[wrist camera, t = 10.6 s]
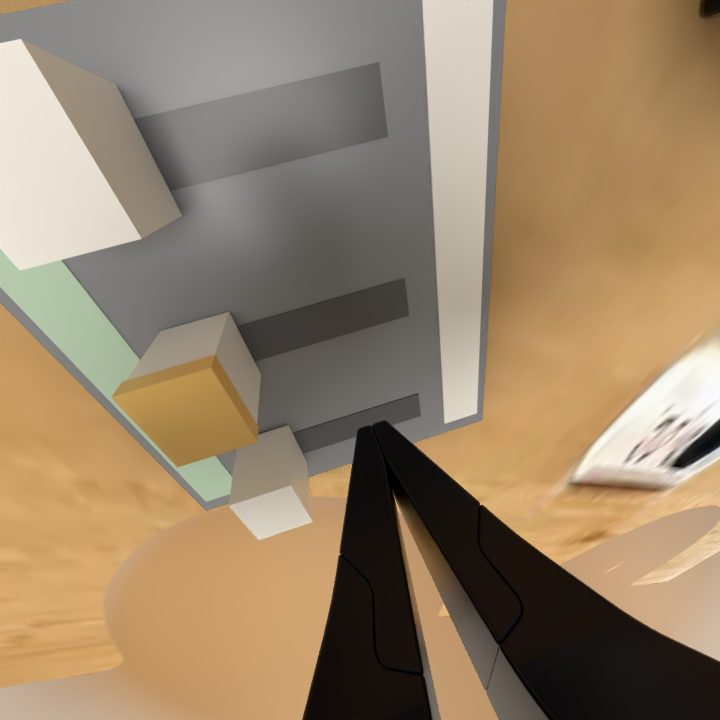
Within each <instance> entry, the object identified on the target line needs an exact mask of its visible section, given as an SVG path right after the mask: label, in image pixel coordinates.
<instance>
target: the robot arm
mask: <svg viewBox="0 0 720 720" xmlns="http://www.w3.org/2000/svg"><path fill="white" fill-rule="evenodd" d="M705 14H706V16H707V17H714V16H718V15H720V0H706V5H705ZM393 494H394V495H393ZM394 497H395V499H396V502H397V504H398V506H399V508H400V511H401V513H402V515H403V517H404V519H405V521H406V523H407V525H408V528H409V530H410V532H411V534H412V536H413V538H414V540H415V542H416V545H417V547H418V549H419V551H420V553H421V555H422V557H423V559H424V561H425V563H426V566H427V568H428V570H429V572H430V574H431V576H432V579H433V581H434V582H435V585H436V587H437V589H438V591H439V593H440V595H441V598H442V600H443V602H444V604H445V606H446V608H447V610H448V613H449V615H450V617H451V619H452V621H453V623H454V625H455V627H456V630H457V632H458V634H459V636H460V638H461V640H462V642H463V644H464V646H465V649H466V651H467V653H468V655H469V657H470V659H471V661H472V663H473V665H474V668H475V670H476V672H477V674H478V676H479V678H480V680H481V682H482V685H483V687H484V689H485V690H486V691H487V695H488V697H489V700H490V702H491V704H492V706H493V708H494V710H495V712H496V714H497V717H498V719H499V720H720V661H718V660H716V659H714V658H712V657H709V656H707V655H705V654H703V653H701V652H699V651H697V650H694V649H692V648H690V647H688V646H686V645H684V644H682V643H680V642H678V641H675V640H673V639H671V638H669V637H667V636H665V635H663V634H661V633H659V632H658V631H656V630H654V629H651V628H650V627H648V626H647V625H645V624H643V623H642V622H640V621H638V620H637V619H635V618H633V617H632V616H630V615H629V614H627V613H626V612H624V611H623V610H621V609H619V608H618V607H617V606H615V605H614V604H612V603H611V602H610V601H608V600H607V599H605V598H604V597H603V596H601V595H600V594H598V593H597V592H596V591H594V590H593V589H591V588H590V587H589V586H587V585H586V584H584V583H583V582H582V581H580V580H579V579H578V578H576V577H575V576H573V575H572V574H571V573H569V572H568V571H566V570H565V569H564V568H562V567H561V566H559V565H558V564H557V563H555V562H554V561H553V560H551V559H550V558H548V557H547V556H546V555H544V554H543V553H541V552H540V551H539V550H538V549H536V548H535V547H534V546H532V545H531V544H530V543H528V542H527V541H526V540H524V539H523V538H522V537H520V536H519V535H518V534H516V533H515V532H514V531H513V530H512V529H510V528H509V527H508V526H507V525H506V524H504V523H503V522H502V521H501V520H500V519H498V518H497V517H496V516H495V515H494V514H493V513H491V512H490V511H489V510H488V509H487V508H486V507H485V506H483V505H480V502H479V501H478V500H476V499H475V498H474V497H473V496H472V495H471V494H470V493H468V492H467V491H466V490H465V489H464V488H463V487H462V486H460V485H459V484H458V483H457V482H456V481H455V480H454V479H452V478H451V477H450V476H449V475H448V474H447V473H446V472H444V471H443V470H442V469H441V468H440V467H439V466H438V465H436V464H435V463H434V462H433V461H432V460H431V459H430V458H429V457H427V456H426V455H425V454H424V453H423V452H422V451H421V450H419V449H418V448H417V447H416V446H415V445H414V444H413V443H411V442H410V441H409V440H408V439H407V438H406V437H405V436H403V435H402V434H401V433H400V432H399V431H398V430H397V429H395V428H394V427H393V426H392V425H391V424H390V423H389V422H387V421H386V420H382V421H379V422H376V423H374V424H373V425H372V426H371V425H367V426H364V427H361V428H359V429H358V430H357V436H356V442H355V449H354V456H353V463H352V470H351V476H350V483H349V490H348V497H347V504H346V511H345V517H344V525H343V531H342V538H341V544H340V554H341V555H339V558H338V564H337V571H336V577H335V582H334V588H333V594H332V600H331V605H330V609H329V614H328V618H327V622H326V627H325V631H324V636H323V640H322V644H321V648H320V651H319V656H318V660H317V663H316V668H315V672H314V676H313V680H312V683H311V687H310V692H309V695H308V699H307V704H306V707H305V711H304V715H303V719H302V720H441V718H440V713H439V711H438V704H437V699H436V694H435V689H434V685H433V680H432V675H431V670H430V665H429V661H428V656H427V651H426V646H425V641H424V636H423V632H422V627H421V622H420V617H419V612H418V608H417V603H416V598H415V593H414V588H413V584H412V579H411V574H410V569H409V564H408V560H407V555H406V551H405V545H404V541H403V536H402V531H401V526H400V521H399V516H398V512H397V507H396V503H395V499H394Z"/></svg>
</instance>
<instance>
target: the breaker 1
mask: <svg viewBox="0 0 720 720" xmlns="http://www.w3.org/2000/svg"><path fill="white" fill-rule="evenodd" d="M181 216H182V214H181V212H180V210H179V208H178V206H177V204H176V202H175V200H174V198H173V196H172V194H171V192H170V190H169V188H168V186H167V184H166V182H165V180H164V178H163V176H162V174H161V172H160V170H159V168H158V166H157V165H156V163H155V161H154V159H153V157H152V155H151V153H150V151H149V149H148V147H147V145H146V143H145V141H144V139H143V137H142V135H141V133H140V131H139V129H138V127H137V125H136V123H135V121H134V119H133V117H132V115H131V113H130V111H129V109H128V107H127V105H126V103H125V101H124V99H123V97H122V95H121V93H120V91H119V89H118V87H117V85H116V84H114V83H112V82H110V81H108V80H105V79H103V78H101V77H99V76H97V75H95V74H93V73H91V72H89V71H87V70H85V69H83V68H80V67H78V66H76V65H74V64H72V63H70V62H68V61H66V60H64V59H62V58H60V57H58V56H56V55H53V54H51V53H49V52H47V51H45V50H43V49H41V48H39V47H37V46H35V45H33V44H31V43H28V42H26V41H24V40H22V39H18V40H13V41H8V42H3V43H0V249H1V250H2V251H3V253H4V254H5V255H6V256H7V257H8V258H9V259H10V260H11V262H12V263H13V264H14V265H15V266H16V267H17V268H18V269H19V271H20V270H24V269H28V268H32V267H36V266H40V265H43V264H47V263H51V262H55V261H59V260H63V259H67V258H70V257H74V256H78V255H82V254H86V253H90V252H93V251H97V250H101V249H105V248H109V247H113V246H116V245H120V244H124V243H128V242H132V241H136V240H139V239H142V238H144V237H146V236H148V235H150V234H151V233H153V232H155V231H157V230H158V229H160V228H162V227H164V226H165V225H167V224H169V223H171V222H173V221H174V220H176V219H178V218H180V217H181Z"/></svg>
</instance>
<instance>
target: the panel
mask: <svg viewBox="0 0 720 720" xmlns="http://www.w3.org/2000/svg"><path fill="white" fill-rule="evenodd" d="M505 9H506V0H71V1H66V2H61V3H56V4H52V5H47V6H42V7H37V8H32V9H27V10H22V11H17V12H12V13H7V14H2V15H0V43H3V42H8V41H13V40H18V39H22V40H24V41H26V42H28V43H31V44H33V45H35V46H37V47H39V48H41V49H43V50H45V51H47V52H49V53H51V54H53V55H56V56H58V57H60V58H62V59H64V60H66V61H68V62H70V63H72V64H74V65H76V66H78V67H80V68H83V69H85V70H87V71H89V72H91V73H93V74H95V75H97V76H99V77H101V78H103V79H105V80H108V81H110V82H112V83H114V84H116V85H117V87H118V89H119V91H120V93H121V95H122V97H123V99H124V101H125V103H126V105H127V107H128V109H129V111H130V113H131V115H132V117H133V119H134V121H135V123H136V125H137V127H138V129H139V131H140V133H141V135H142V137H143V139H144V141H145V143H146V145H147V147H148V149H149V151H150V153H151V155H152V157H153V159H154V161H155V163H156V165H157V166H158V168H159V170H160V172H161V174H162V176H163V178H164V180H165V182H166V184H167V186H168V188H169V190H170V192H171V194H172V196H173V198H174V200H175V202H176V204H177V206H178V208H179V210H180V212H181V214H182V216H181V217H180V218H178V219H176V220H174V221H173V222H171V223H169V224H167V225H165V226H164V227H162V228H160V229H158V230H157V231H155V232H153V233H151V234H150V235H148V236H146V237H144V238H142V239H139V240H136V241H132V242H128V243H124V244H120V245H116V246H113V247H109V248H105V249H101V250H97V251H93V252H90V253H86V254H82V255H78V256H74V257H70V258H67V259H63V260H59V261H55V262H51V263H47V264H43V265H40V266H36V267H32V268H28V269H24V270H20V271H19V269H18V268H17V267H16V266H15V265H14V264H13V263H12V262H11V260H10V259H9V258H8V257H7V256H6V255H5V254H4V253H3V251H2V250H1V249H0V303H1V304H2V305H3V306H4V307H5V308H6V309H7V310H8V311H9V312H10V313H11V314H12V315H13V316H14V317H15V318H16V319H17V320H18V321H19V322H20V323H21V324H22V325H23V326H24V327H25V328H26V329H27V330H28V331H29V332H30V333H31V334H32V335H33V336H34V337H35V338H36V339H37V340H38V342H39V343H40V344H41V345H42V346H43V347H44V348H45V349H46V350H47V351H48V352H49V353H50V354H51V355H52V356H53V357H54V358H55V359H56V360H57V361H58V362H59V363H60V364H61V365H62V366H63V367H64V368H65V369H66V370H67V371H68V372H69V373H70V374H71V375H72V376H73V377H74V378H75V379H76V380H77V381H78V382H79V383H80V384H81V385H82V386H83V387H84V388H85V389H86V390H87V391H88V392H89V393H90V394H91V395H92V396H93V397H94V398H95V399H96V400H97V401H98V402H99V403H100V404H101V405H102V406H103V407H104V408H105V409H106V410H107V411H108V412H109V413H110V414H111V415H112V416H113V417H114V418H115V419H116V420H117V421H118V422H119V423H120V424H121V425H122V426H123V427H124V428H125V429H126V430H127V431H128V432H129V433H130V434H131V435H132V436H133V437H134V438H135V439H136V440H137V441H138V442H139V444H140V445H141V446H142V447H143V448H144V449H145V450H146V451H147V452H148V453H149V454H150V455H151V456H152V457H153V458H154V459H155V460H156V461H157V462H158V463H159V464H160V465H161V466H162V467H163V468H164V469H165V470H166V471H167V472H168V473H169V474H170V475H171V476H172V477H173V478H174V479H175V480H176V481H177V482H178V483H179V484H180V485H181V486H182V487H183V488H184V489H185V490H186V491H187V492H188V493H189V494H190V495H191V496H192V497H193V498H194V499H195V500H196V501H197V502H198V503H199V504H200V505H201V506H202V507H203V508H204V509H205V510H206V511H208V510H211V509H214V508H217V507H220V506H223V505H226V504H229V499H230V492H231V485H232V478H233V471H234V464H235V457H236V450H237V449H235V450H231V451H228V452H225V453H222V454H219V455H216V456H212V457H209V458H206V459H203V460H200V461H197V462H193V463H190V464H187V465H184V466H181V467H178V468H177V467H176V465H175V464H174V463H173V462H172V461H171V460H170V459H169V458H168V457H167V456H166V455H165V454H164V453H163V452H162V451H161V450H160V449H159V447H158V446H157V445H156V444H155V443H154V442H153V441H152V440H151V439H150V438H149V437H148V436H147V435H146V434H145V433H144V432H143V430H142V429H141V428H140V427H139V426H138V425H137V424H136V423H135V422H134V421H133V420H132V419H131V418H130V417H129V416H128V415H127V414H126V412H125V411H124V410H123V409H122V408H121V407H120V406H119V405H118V404H117V403H116V402H115V401H114V400H113V399H112V398H111V397H112V395H113V394H114V393H115V391H116V390H117V388H118V387H119V386H120V384H121V383H122V382H123V381H126V380H127V378H128V377H129V376H130V374H131V373H132V371H133V370H134V368H135V367H136V365H137V364H138V363H139V361H140V360H141V358H142V357H143V355H144V354H145V353H146V351H147V350H148V348H149V347H150V345H151V344H152V342H153V341H154V340H155V338H156V337H157V335H158V334H159V332H160V331H162V330H166V329H169V328H173V327H177V326H180V325H184V324H187V323H191V322H194V321H198V320H201V319H205V318H208V317H212V316H215V315H219V314H222V313H226V312H229V313H230V315H231V317H232V318H233V320H234V322H235V324H236V326H237V328H238V330H239V332H240V334H241V336H242V338H243V340H244V342H245V344H246V346H247V348H248V350H249V352H250V354H251V356H252V358H253V360H254V362H255V364H256V366H257V368H258V369H259V371H260V373H261V381H260V394H259V407H258V419H257V425H258V427H259V428H258V435H259V434H262V433H265V432H268V431H271V430H275V429H278V428H281V427H284V426H287V425H289V427H290V429H291V431H292V433H293V435H294V437H295V439H296V441H297V443H298V445H299V447H300V449H301V451H302V453H303V455H304V457H305V459H306V461H307V468H308V477H311V476H314V475H317V474H320V473H323V472H326V471H329V470H332V469H335V468H338V467H341V466H344V465H347V464H350V463H353V456H354V449H355V442H356V436H357V430H358V429H359V428H361V427H364V426H367V425H371V426H372V425H373V424H374V423H376V422H379V421H382V420H386V421H387V422H389V423H390V424H391V425H392V426H393V427H394V428H395V429H397V430H398V431H399V432H400V433H401V434H402V435H403V436H405V437H406V438H407V439H408V440H409V441H410V442H411V443H414V442H417V441H420V440H423V439H426V438H429V437H432V436H435V435H439V434H442V433H445V432H448V431H451V430H454V429H457V428H460V427H463V426H466V425H469V424H472V423H475V422H478V421H481V420H482V418H483V401H484V383H485V365H486V347H487V329H488V312H489V294H490V276H491V258H492V240H493V222H494V205H495V187H496V169H497V151H498V133H499V116H500V98H501V80H502V62H503V44H504V27H505Z"/></svg>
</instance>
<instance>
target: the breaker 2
mask: <svg viewBox="0 0 720 720" xmlns="http://www.w3.org/2000/svg"><path fill="white" fill-rule="evenodd" d="M229 507H230V508H231V509H232V511H233V512H234V513H235V514H236V515H237V516H238V517H239V518H240V519H241V521H242V522H243V523H244V524H245V525H246V526H247V527H248V528H249V530H250V531H251V532H252V533H253V534H254V535H255V536H256V537H257V539H258V540H261V539H264V538H267V537H269V536H272V535H275V534H278V533H281V532H284V531H287V530H290V529H293V528H296V527H299V526H302V525H305V524H307V523H310V522H313V519H312V509H311V499H310V488H309V478H308V468H307V461H306V459H305V457H304V455H303V453H302V451H301V449H300V447H299V445H298V443H297V441H296V439H295V437H294V435H293V433H292V431H291V429H290V427H289V425H287V426H284V427H281V428H278V429H275V430H271V431H268V432H265V433H262V434H259V435H258V442H257V443H253V444H250V445H247V446H244V447H241V448H238V449H237V450H236V457H235V464H234V471H233V478H232V485H231V492H230V499H229Z"/></svg>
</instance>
